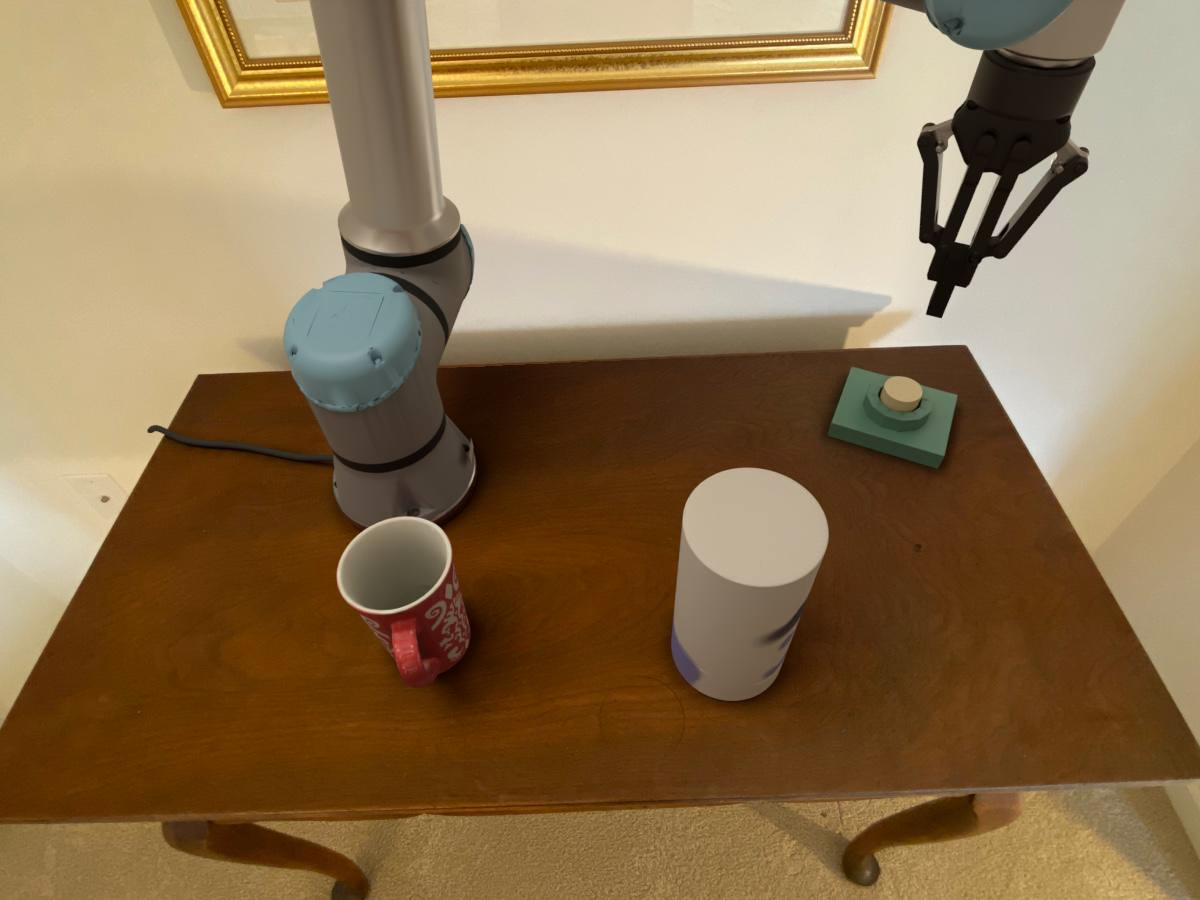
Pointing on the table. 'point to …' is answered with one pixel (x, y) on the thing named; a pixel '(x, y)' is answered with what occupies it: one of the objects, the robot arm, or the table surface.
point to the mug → (407, 595)
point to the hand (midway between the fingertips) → (935, 308)
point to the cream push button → (901, 394)
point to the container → (743, 579)
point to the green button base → (893, 420)
